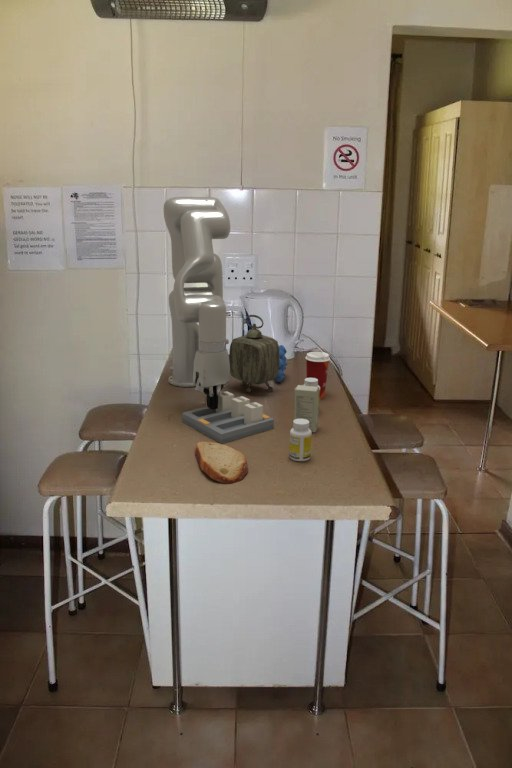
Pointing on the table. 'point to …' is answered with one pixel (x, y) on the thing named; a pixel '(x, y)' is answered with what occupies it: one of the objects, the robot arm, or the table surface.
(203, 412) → the switch bank
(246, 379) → the tabletop clock
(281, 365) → the grapes
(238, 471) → the bread slice
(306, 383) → the supplement bottle
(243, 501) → the table surface
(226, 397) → the beige switch slider block
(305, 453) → the supplement bottle
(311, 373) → the paper cup
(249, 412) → the tab
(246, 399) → the tab
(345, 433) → the table surface
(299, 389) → the skincare box
